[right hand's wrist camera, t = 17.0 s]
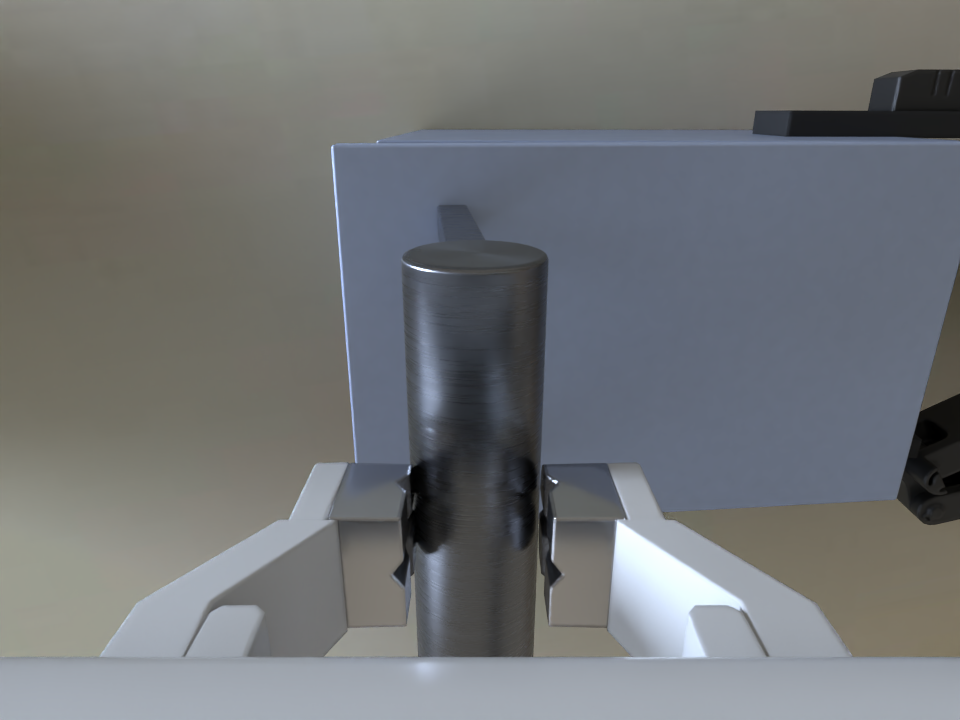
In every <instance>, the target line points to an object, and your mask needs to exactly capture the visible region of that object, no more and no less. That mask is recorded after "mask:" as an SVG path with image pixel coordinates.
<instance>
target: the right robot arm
mask: <svg viewBox="0 0 960 720" xmlns="http://www.w3.org/2000/svg"><path fill="white" fill-rule="evenodd" d="M540 492H541V499H542V506H543V509H542V511H541V512H540V513H539V556H540V566H541V574H543V575H544V576H545V581H544V597H545V604H546V611H547V617H548V624H549V626H558V627H594V628H607V631H608V632H609V633H610V634H611V635H612V636H613V637H614V638H615V639H616V640H617V642H618V643H619V644H620V645H621V646H622V647H623V648H624V649H625V650H626V651H627V652H628V653H629V654H630V656H631V657H324V655H325V654H326V653H327V652H328V651H329V650H330V649H331V648H332V647H333V646H334V645H335V644H336V643H337V642H338V641H339V640H340V638H341V637H342V636H343V635H344V634H345V633H346V632H347V628H360V627H395V626H406V624H407V618H408V611H409V604H410V598H411V578H410V576H412V575H413V574H414V570H415V562H416V547H417V534H416V516H415V513H414V510H413V509H412V508H413V501H414V495H415V485H414V466H413V464H388V463H348V462H333V463H318V464H316V465H315V466H314V467H313V470H312V472H311V474H310V476H309V478H308V480H307V482H306V484H305V486H304V488H303V491H302V493H301V495H300V497H299V499H298V501H297V503H296V505H295V507H294V510H293V512H292V514H291V516H290V518H289V520H278V521H276V522H274V523H273V524H271V525H269V526H268V527H266V528H264V529H262V530H261V531H259V532H257V533H256V534H254V535H252V536H250V537H249V538H247V539H245V540H244V541H242V542H240V543H238V544H237V545H235V546H233V547H232V548H230V549H228V550H226V551H225V552H223V553H221V554H220V555H218V556H216V557H214V558H213V559H211V560H209V561H208V562H206V563H204V564H202V565H201V566H199V567H197V568H196V569H194V570H192V571H190V572H189V573H187V574H185V575H184V576H182V577H180V578H178V579H177V580H175V581H173V582H172V583H170V584H168V585H167V586H165V587H163V588H161V589H160V590H158V591H156V592H155V593H153V594H151V595H149V596H148V597H146V598H144V599H143V600H141V601H139V602H137V604H136V605H135V607H134V608H133V609H132V611H131V612H130V614H129V615H128V617H127V618H126V619H125V621H124V622H123V624H122V625H121V626H120V628H119V629H118V631H117V632H116V634H115V635H114V636H113V638H112V639H111V641H110V642H109V643H108V645H107V646H106V648H105V649H104V651H103V652H102V653H101V655H100V656H99V657H0V720H960V657H853V656H852V654H851V653H850V651H849V650H848V648H847V647H846V645H845V644H844V643H843V641H842V640H841V638H840V637H839V635H838V634H837V632H836V631H835V629H834V628H833V626H832V625H831V624H830V622H829V621H828V619H827V618H826V616H825V615H824V613H823V612H822V610H821V609H820V607H819V606H818V605H817V603H815V602H813V601H812V600H810V599H808V598H807V597H805V596H803V595H802V594H800V593H798V592H797V591H795V590H793V589H792V588H790V587H788V586H786V585H785V584H783V583H781V582H780V581H778V580H776V579H775V578H773V577H771V576H770V575H768V574H766V573H764V572H763V571H761V570H759V569H758V568H756V567H754V566H753V565H751V564H749V563H748V562H746V561H744V560H742V559H741V558H739V557H737V556H736V555H734V554H732V553H731V552H729V551H727V550H726V549H724V548H722V547H721V546H719V545H717V544H715V543H714V542H712V541H710V540H709V539H707V538H705V537H704V536H702V535H700V534H699V533H697V532H695V531H693V530H692V529H690V528H688V527H687V526H685V525H683V524H682V523H680V522H678V521H677V520H666V519H665V517H664V515H663V513H662V511H661V508H660V506H659V504H658V502H657V500H656V498H655V496H654V493H653V491H652V489H651V487H650V485H649V483H648V481H647V478H646V476H645V474H644V472H643V470H642V468H641V466H640V464H638V463H637V462H624V463H580V464H543V465H542V468H541V480H540Z"/></svg>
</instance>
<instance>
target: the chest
mask: <svg viewBox="0 0 960 720" xmlns="http://www.w3.org/2000/svg"><path fill="white" fill-rule="evenodd" d="M752 133H753V130H418V131H414V132H410V133H406V134H402V135H398V136H393V137H389V138H385V139H381V140H378V141H377V143H564V142H864V141H956V140H940V139H923V138H907V137H784V136H772V135H760V134H752Z"/></svg>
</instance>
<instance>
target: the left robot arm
mask: <svg viewBox="0 0 960 720" xmlns="http://www.w3.org/2000/svg"><path fill="white" fill-rule="evenodd" d="M752 134H760V135H772V136H784V137H907V138H960V70H910V71H900V72H891V73H889V74H886V75H884V76H881V77H879V78H876V79H874V84H873V88H872V93H871V98H870V103H869V108H868V111H756V112H755V119H754V126H753V133H752ZM897 499H898V500H899V501H900V502H901V503H902V504H903V505H904V506H905V507H906V508H908V509H909V510H910V511H911V512H912V513H913V514H914V515H915V516H916V517H917V518H918V519H919V520H920V521H922V522H923V523H924V524H928V525H936V524H940V523H945V522H949V521H953V520H958V519H960V394H958V395H956V396H953V397H951V398H949V399H947V400H945V401H942V402H940V403H938V404H936V405H934V406H932V407H929V408H927V409H925V410H923V411H921V412H920V413H919V416H918V420H917V424H916V428H915V431H914V435H913V439H912V443H911V446H910V450H909V454H908V458H907V461H906V465H905V469H904V473H903V476H902V480H901V484H900V488H899V491H898V495H897Z"/></svg>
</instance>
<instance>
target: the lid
mask: <svg viewBox="0 0 960 720" xmlns="http://www.w3.org/2000/svg"><path fill="white" fill-rule="evenodd" d="M331 152H332V165H333V178H334V191H335V204H336V217H337V230H338V243H339V256H340V269H341V282H342V295H343V308H344V321H345V334H346V347H347V360H348V373H349V386H350V399H351V412H352V425H353V438H354V451H355V463H388V464H413V466H414V485H415V495H414V501H413V508H412V509H413V510H414V513H415V516H416V534H417V547H416V562H415V594H416V617H417V640H418V657H533V650H534V625H535V599H536V573H537V547H538V521H539V513H540V512H541V511H542V509H543V506H542V499H541V492H540V480H541V468H542V465H543V464H580V463H624V462H637V463H638V464H640V466H641V468H642V470H643V472H644V474H645V476H646V478H647V481H648V483H649V485H650V487H651V489H652V491H653V493H654V496H655V498H656V500H657V502H658V504H659V506H660V508H661V511H662V512H675V511H694V510H713V509H731V508H750V507H768V506H787V505H805V504H824V503H843V502H861V501H880V500H895V499H896V498H897V495H898V491H899V488H900V484H901V480H902V476H903V473H904V469H905V465H906V461H907V458H908V454H909V450H910V446H911V443H912V439H913V435H914V431H915V428H916V424H917V420H918V416H919V413H920V409H921V405H922V401H923V398H924V394H925V390H926V386H927V383H928V379H929V375H930V371H931V368H932V364H933V360H934V356H935V353H936V349H937V345H938V341H939V338H940V334H941V330H942V326H943V323H944V319H945V315H946V311H947V308H948V304H949V300H950V296H951V293H952V289H953V285H954V281H955V278H956V274H957V270H958V266H959V263H960V141H864V142H564V143H337V144H335V145H332V147H331Z"/></svg>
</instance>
